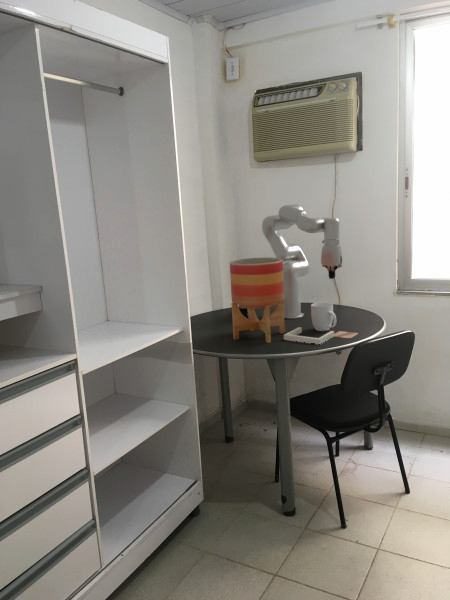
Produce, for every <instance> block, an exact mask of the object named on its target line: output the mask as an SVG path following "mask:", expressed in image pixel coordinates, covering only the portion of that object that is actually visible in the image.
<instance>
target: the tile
mask: <svg viewBox="0 0 450 600" xmlns="http://www.w3.org/2000/svg"><path fill="white" fill-rule="evenodd" d="M358 334H360V333H359V332H351V331H342V330H339V331H337V332H334V337H333V338H335V337H336V338H342V339H352V338H354V337H355V336H357V335H358Z"/></svg>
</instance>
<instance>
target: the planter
mask: <svg viewBox="0 0 450 600" xmlns="http://www.w3.org/2000/svg"><path fill="white" fill-rule="evenodd" d="M283 264H284V262H283V260H282V259H280V258H276V257H267V256H265V257H249V258H239V259H235V260H231V261H230V262H229V275H230V276H229V277H230V296H231V314H232V315H231V316H232V335H233V338H232V339H233V340H236V341H237V340H240V331H247V330H249V331H250V332H253V331H254V330H256V329H259V330H260V331H261V332H263V333H265V342H266V343H268V344H269V343H272V335H271V334H272V333H271V331H272V330H271V327H277V326H278V332H279V333H280V334H286V324H285V322H286V321H285V318H284V278H283ZM239 307H242V308H247V309H248V315H249V317H248V319H247V318H246V317H244V316H243V315H242V313H241V312H240V310H239ZM273 307H275V308H274V309H273V311H272V312H270V311H271V309H270V308H273ZM259 309H263V314H262V315H263V316H262V318H261V320H260V319H259V318H258V316H257V313H256V311H255V310H259Z"/></svg>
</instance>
